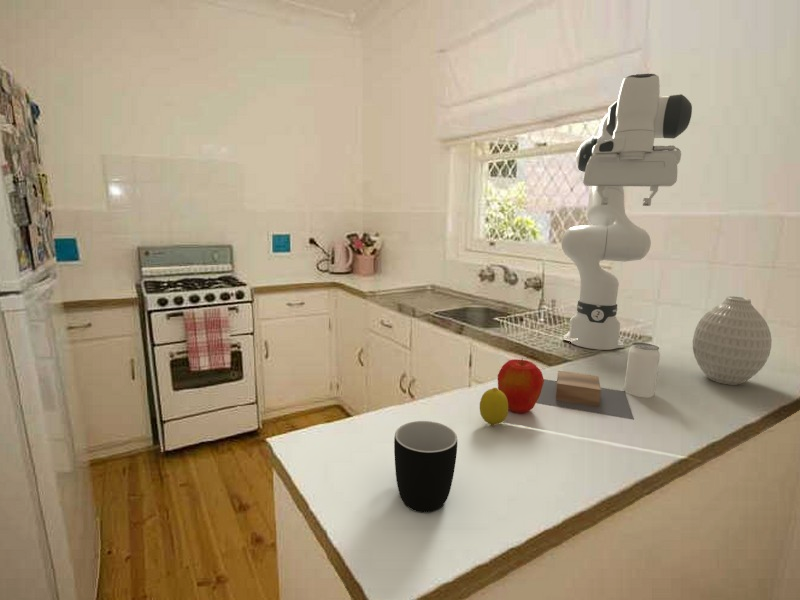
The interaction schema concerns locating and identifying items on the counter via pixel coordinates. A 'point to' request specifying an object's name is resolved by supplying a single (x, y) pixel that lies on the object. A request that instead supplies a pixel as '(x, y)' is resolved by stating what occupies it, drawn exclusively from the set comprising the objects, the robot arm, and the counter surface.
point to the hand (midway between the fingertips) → (624, 205)
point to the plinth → (578, 388)
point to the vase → (732, 341)
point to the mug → (424, 464)
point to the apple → (520, 384)
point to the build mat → (608, 405)
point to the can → (642, 369)
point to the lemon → (493, 406)
